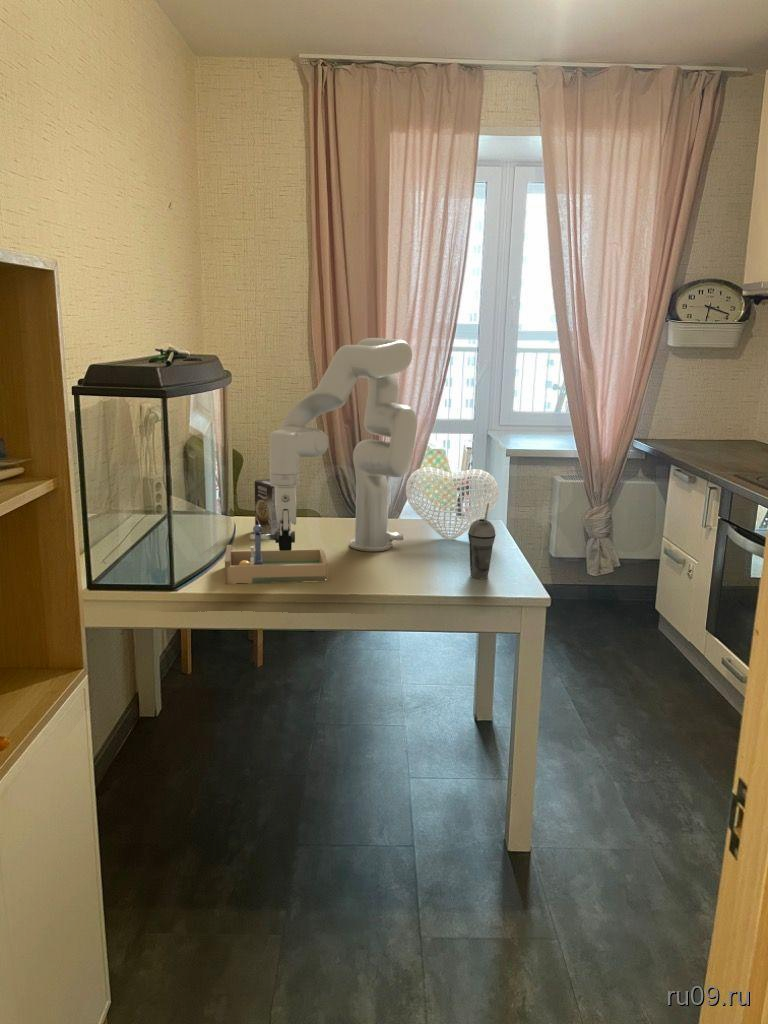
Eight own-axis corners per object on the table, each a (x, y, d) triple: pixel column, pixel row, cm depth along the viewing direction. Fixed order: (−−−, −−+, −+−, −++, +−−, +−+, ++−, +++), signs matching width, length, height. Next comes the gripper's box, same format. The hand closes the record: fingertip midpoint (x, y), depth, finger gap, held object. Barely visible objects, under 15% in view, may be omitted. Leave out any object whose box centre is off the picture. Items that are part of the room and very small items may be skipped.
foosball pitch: (323, 564, 215) (323, 543, 214) (327, 581, 202) (328, 559, 200) (227, 566, 211) (226, 544, 210) (225, 584, 198) (224, 561, 196)
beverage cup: (464, 571, 213) (468, 499, 208) (491, 572, 212) (496, 500, 207) (466, 580, 206) (470, 506, 201) (494, 581, 205) (499, 507, 200)
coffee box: (254, 531, 245) (253, 480, 241) (271, 527, 249) (270, 477, 245) (271, 537, 238) (270, 485, 234) (288, 534, 242) (288, 483, 238)
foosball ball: (250, 571, 207) (252, 559, 206) (250, 576, 204) (252, 563, 203) (237, 570, 206) (238, 557, 206) (237, 575, 203) (238, 562, 202)
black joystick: (294, 562, 210) (294, 520, 207) (295, 570, 203) (295, 527, 200) (250, 563, 208) (249, 521, 205) (250, 571, 202) (249, 528, 199)
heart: (494, 535, 248) (498, 465, 242) (496, 549, 233) (501, 476, 227) (405, 530, 250) (408, 461, 245) (401, 544, 235) (404, 471, 230)
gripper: (301, 486, 193) (301, 557, 198) (297, 472, 209) (297, 538, 213) (270, 486, 192) (271, 558, 197) (269, 472, 208) (269, 539, 212)
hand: (285, 547), depth 205 cm, fingers closed on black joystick, 3 cm apart
